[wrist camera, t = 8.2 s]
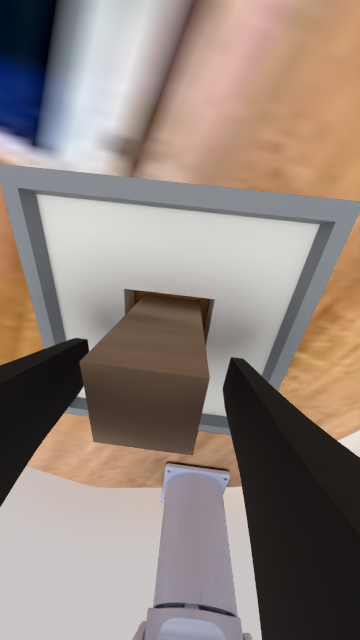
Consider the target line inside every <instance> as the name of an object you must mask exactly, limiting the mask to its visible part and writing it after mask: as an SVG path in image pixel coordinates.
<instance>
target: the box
mask: <svg viewBox="0 0 360 640" xmlns="http://www.w3.org/2000/svg"><path fill="white" fill-rule="evenodd" d="M0 186H1V190H2V193H3V197H4V201H5V205H6V208H7V212H8V216H9V219H10V223H11V227H12V230H13V234H14V238H15V242H16V245H17V249H18V253H19V256H20V260H21V264H22V267H23V271H24V275H25V278H26V282H27V286H28V290H29V293H30V297H31V301H32V304H33V308H34V312H35V315H36V319H37V323H38V327H39V330H40V334H41V338H42V341H43V345H44V349H46V348H48V347H51V346H53V345H56V344H59V343H61V342H64V341H67V340H70V339H74V338H81V339H88V346H89V351H90V350H91V349H92V348H93V347H94V346H95V345H96V344H97V343H98V342H99V341H100V340H101V339H102V338H103V337H104V336H105V335H106V334H107V333H108V332H109V331H110V330H111V329H112V328H113V327H114V326H115V325H116V324H117V323H118V322H119V321H120V320H121V319H122V318H123V317H124V316H125V315H126V314H127V313H128V312H129V311H130V310H131V309H132V308H133V307H134V290H139V291H148V292H157V293H165V294H174V295H182V296H191V297H200V298H208V299H210V302H209V308H208V313H207V319H206V324H205V330H204V339H205V346H206V353H207V361H208V368H209V375H210V380H209V384H208V389H207V393H206V398H205V402H204V406H203V411H202V415H201V420H200V424H199V429H198V431H202V432H210V433H218V434H225V435H231V433H230V429H229V424H228V420H227V416H226V412H225V406H224V398H223V389H222V388H223V384H224V381H225V377H226V373H227V370H228V366H229V362H230V359H231V357H235V358H243V359H244V360H246V361H247V362H248V363H249V364H250V365H251V366H252V367H253V368H254V369H255V370H256V371H257V372H258V373H259V374H260V375H261V376H262V377H263V378H264V379H265V380H266V381H267V382H268V383H269V384H271V385H272V386H273V387H274V388H275V389H276V390H277V391H278V389H279V387H280V385H281V383H282V380H283V378H284V376H285V374H286V372H287V369H288V367H289V365H290V363H291V361H292V359H293V356H294V354H295V352H296V350H297V348H298V345H299V343H300V341H301V339H302V337H303V335H304V332H305V330H306V328H307V326H308V324H309V321H310V319H311V317H312V315H313V313H314V310H315V308H316V306H317V304H318V302H319V300H320V297H321V295H322V293H323V291H324V289H325V286H326V284H327V282H328V280H329V278H330V276H331V273H332V271H333V269H334V267H335V265H336V262H337V260H338V258H339V256H340V254H341V251H342V249H343V247H344V245H345V243H346V241H347V238H348V236H349V234H350V232H351V230H352V227H353V225H354V223H355V221H356V219H357V217H358V214H359V212H360V201H350V200H341V199H331V198H322V197H312V196H302V195H293V194H283V193H274V192H264V191H254V190H245V189H235V188H225V187H216V186H206V185H197V184H187V183H177V182H168V181H158V180H149V179H139V178H129V177H120V176H110V175H100V174H91V173H81V172H72V171H62V170H52V169H43V168H33V167H24V166H14V165H4V164H0ZM64 413H65V414H73V415H81V416H88V417H89V413H88V407H87V402H86V396H85V390H84V387H83V388H82V390H81V391H80V393H79V394H78V395H77V397H76V398H75V399H74V401H73V402H72V403H71V405H70V406H69V407H68V408H67V410H66V411H65V412H64Z"/></svg>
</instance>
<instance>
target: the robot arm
mask: <svg viewBox="0 0 360 640" xmlns="http://www.w3.org/2000/svg"><path fill="white" fill-rule="evenodd" d="M88 352H89V346H88V339H81V338H74V339H70V340H67V341H64V342H61V343H59V344H56V345H53V346H51V347H48V348H46V349H43V350H40V351H38V352H35V353H33V354H30V355H28V356H25V357H22V358H20V359H17V360H14V361H11V362H9V363H6V364H3V365H0V507H1V505H2V503H3V502H4V500H5V499H6V497H7V495H8V494H9V492H10V490H11V489H12V487H13V485H14V484H15V482H16V480H17V479H18V477H19V476H20V474H21V473H22V471H23V470H24V468H25V467H26V465H27V464H28V462H29V461H30V459H31V457H32V456H33V454H34V453H35V451H36V450H37V448H38V447H39V445H40V444H41V443H42V441H43V440H44V439H45V437H46V436H47V434H48V433H49V432H50V431H51V429H52V428H53V427H54V425H55V424H56V423H57V421H58V420H59V419H60V418H61V416H62V415H63V414H64V412H65V411H66V410H67V408H68V407H69V406H70V405H71V403H72V402H73V401H74V399H75V398H76V397H77V395H78V394H79V393H80V391H81V390H82V388H83V387H84V385H83V379H82V373H81V368H80V361H81V360H82V359H83V358H84V357H85V356H86V355H87V353H88ZM222 389H223V398H224V406H225V412H226V416H227V420H228V424H229V429H230V433H231V437H232V441H233V445H234V449H235V454H236V458H237V462H238V467H239V472H240V477H241V483H242V489H243V495H244V502H245V508H246V515H247V521H248V529H249V536H250V542H251V550H252V558H253V566H254V574H255V582H256V590H257V598H258V606H259V615H260V623H261V632H262V640H360V457H358V456H357V455H355V454H354V453H353V452H351V451H350V450H349V449H347V448H346V447H345V446H343V445H342V444H341V443H339V442H338V441H337V440H335V439H334V438H333V437H331V436H330V435H329V434H328V433H326V432H325V431H324V430H323V429H321V428H320V427H319V426H317V425H316V424H315V423H314V422H312V421H311V420H310V419H309V418H308V417H306V416H305V415H304V414H303V413H302V412H300V411H299V410H298V409H297V408H296V407H295V406H294V405H292V404H291V403H290V402H289V401H288V400H287V399H286V398H285V397H283V396H282V395H281V394H280V393H279V392H278V391H277V390H276V389H275V388H274V387H273V386H272V385H271V384H269V383H268V382H267V381H266V380H265V379H264V378H263V377H262V376H261V375H260V374H259V373H258V372H257V371H256V370H255V369H254V368H253V367H252V366H251V365H250V364H249V363H248V362H247V361H246V360H244V359H243V358H235V357H231V359H230V362H229V366H228V370H227V373H226V377H225V381H224V384H223V388H222ZM229 479H230V473H229V472H228V471H222V470H214V469H207V468H199V467H192V466H185V465H177V464H170V463H168V464H166V466H165V474H164V483H163V492H162V500H161V501H162V503H164V511H163V521H162V530H161V540H160V549H159V558H158V567H157V568H158V569H157V578H156V586H155V596H154V605H153V608H149V609H148V613H147V621H143V622H142V623H141V624H140V626H139V628H138V630H137V632H136V634H135V635H134V637H133V639H132V640H252V637H251V635H250V634H249V633H243V635H242V628H241V620H240V618H239V617H238V616H237V607H236V599H235V591H234V583H233V574H232V567H231V558H230V550H229V543H228V534H227V526H226V518H225V510H224V502H223V493H224V491H225V488H226V486H227V484H228V481H229Z"/></svg>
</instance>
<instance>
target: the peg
mask: <svg viewBox="0 0 360 640" xmlns="http://www.w3.org/2000/svg"><path fill="white" fill-rule="evenodd" d="M80 368H81V373H82V379H83V385H84V390H85V396H86V402H87V407H88V413H89V419H90V424H91V430H92V436H93V441H94V442H97V443H105V444H112V445H119V446H127V447H134V448H142V449H149V450H157V451H164V452H171V453H179V454H186V455H193V451H194V446H195V442H196V438H197V433H198V429H199V424H200V420H201V415H202V411H203V406H204V402H205V398H206V393H207V389H208V384H209V380H210V375H209V368H208V361H207V353H206V346H205V339H204V331H203V324H202V317H201V310H200V302H199V300H192V299H184V298H175V297H166V296H158V295H149V294H145V295H144V296H143V297H142V298H141V299H140V300H139V301H138V302H137V303H136V304H135V305H134V307H133V308H132V309H131V310H130V311H129V312H128V313H127V314H126V315H125V316H124V317H123V318H122V319H121V320H120V321H119V322H118V323H117V324H116V325H115V326H114V327H113V328H112V329H111V330H110V331H109V332H108V333H107V334H106V335H105V336H104V337H103V338H102V339H101V340H100V341H99V342H98V343H97V344H96V345H95V346H94V347H93V348H92V349H91V350H90V351H89V352H88V353H87V355H86V356H85V357H84V358H83V359H82V360H81V361H80Z"/></svg>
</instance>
